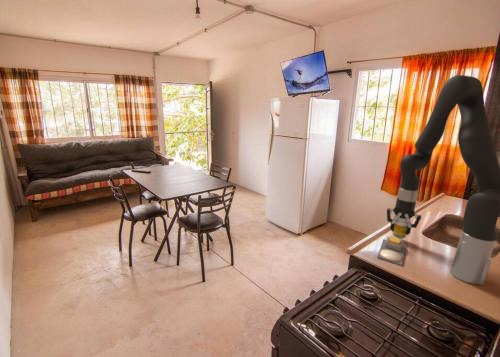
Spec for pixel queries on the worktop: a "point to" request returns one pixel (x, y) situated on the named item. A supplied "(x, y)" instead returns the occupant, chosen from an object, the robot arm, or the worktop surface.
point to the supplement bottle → (400, 228)
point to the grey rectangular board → (392, 252)
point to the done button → (394, 240)
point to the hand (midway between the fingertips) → (399, 232)
